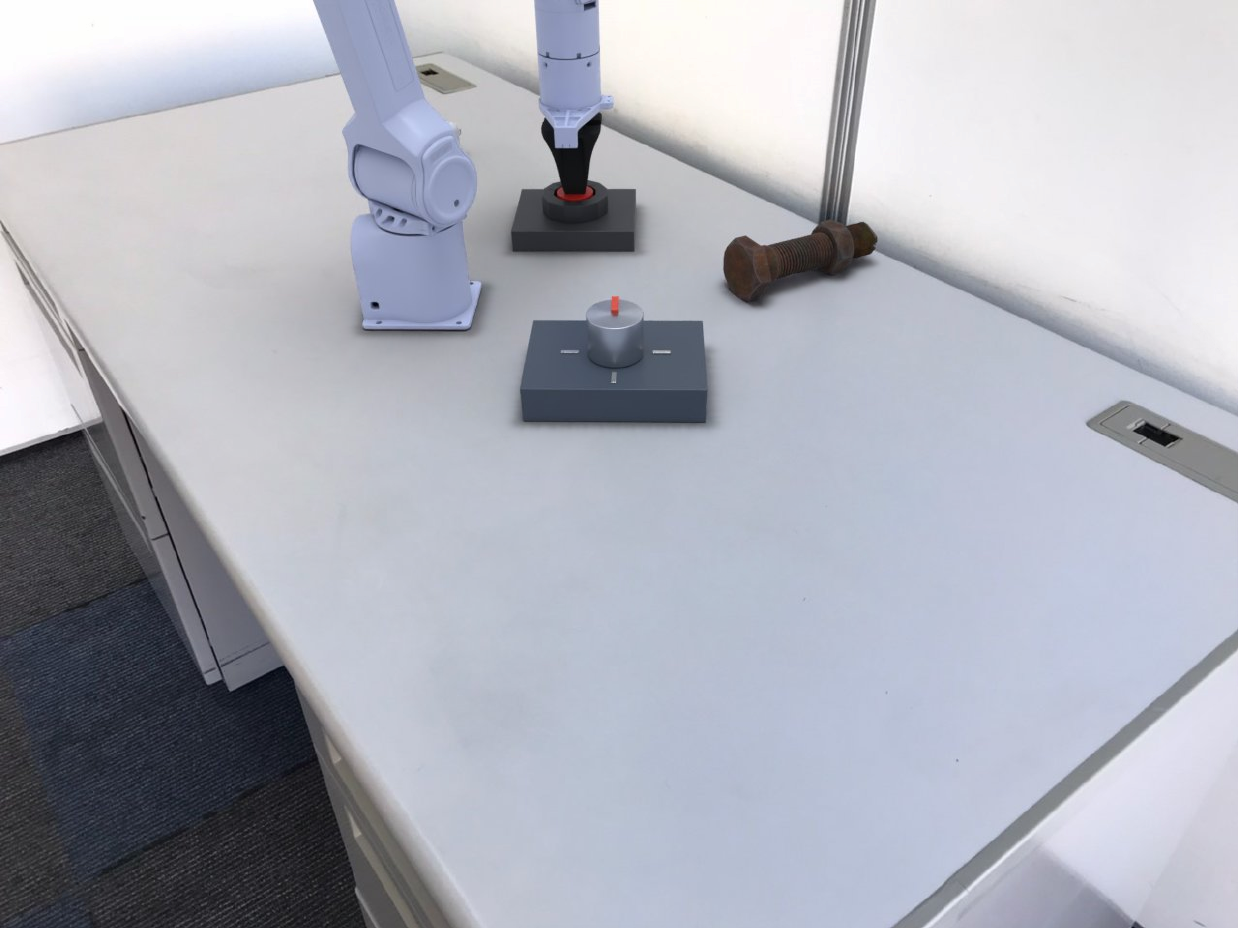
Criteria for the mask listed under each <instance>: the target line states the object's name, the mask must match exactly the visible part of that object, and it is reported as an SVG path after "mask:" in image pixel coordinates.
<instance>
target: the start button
mask: <svg viewBox="0 0 1238 928" xmlns="http://www.w3.org/2000/svg"><path fill="white" fill-rule="evenodd" d="M591 197H593V190H592V189H591V188H590V187H588V186H587V188H586V192H585V194H564V191H563V188H562V187H561V188H560V189H558V191H557V198H558V199H561V200H565V201H582V200H587V199H590V198H591Z"/></svg>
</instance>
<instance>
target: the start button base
mask: <svg viewBox="0 0 1238 928" xmlns="http://www.w3.org/2000/svg"><path fill="white" fill-rule="evenodd" d="M587 186H588V187H590V188H591V189H592V190H593V197H591V198H590V199H587V200H582V201H565V200H561V199H558V198H557V191H558V189H560V188H561V187H562V185H561V182H560V180H558V181H556V182H552V183H550V184H549V185H547V186H545V187H544V188H522V189H521V191H520V196H519V199H518V203H517V207H516V211H515V215H514V219H513V222H512V227H511V230H510V235H511V236H510V237H511V247H512V252H516V253H517V252H519V253H520V252H524V253H525V252H530V253H531V252H535V253H537V252H538V253H539V252H547V253H548V252H552V253H553V252H560V253H561V252H563V253H564V252H565V253H566V252H568V253H569V252H571V253H572V252H573V253H574V252H581V253H582V252H584V253H585V252H587V253H588V252H589V253H590V252H593V253H594V252H597V253H598V252H599V253H601V252H602V253H603V252H604V253H605V252H608V253H609V252H610V253H611V252H612V253H613V252H614V253H615V252H616V253H617V252H618V253H619V252H620V253H621V252H622V253H623V252H625V253H626V252H629V253H632V252H635V247H636V246H635V243H636V242H635V241H636V219H637V189H636V188H607V187H606V186H605V185H604V184H602V183H600V182H598V181H595V180H590V179H588V182H587Z"/></svg>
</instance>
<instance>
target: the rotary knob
mask: <svg viewBox="0 0 1238 928" xmlns="http://www.w3.org/2000/svg"><path fill="white" fill-rule="evenodd" d="M585 320H586V325H587V350H588V356H589V358H590V359H591V360H592V361H593V362H594V363H596V364H598V365H600V366H604V367H610V368H620V367H626V366H630V365H632V364H634V363H636V362H638V361H639V360H640V359H641V358H642V356H643V354H644V321H645V313H644V310H643V308H642V307H641V305H639V304H637V303H635V302H633V301H630V300H625V299H620V296H618V295H612V296H611V299H606V300H602V301H599V302H595V303H594V304H592V305H591V306H590V307H589V308H588V309H587V310H586V313H585Z"/></svg>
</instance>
